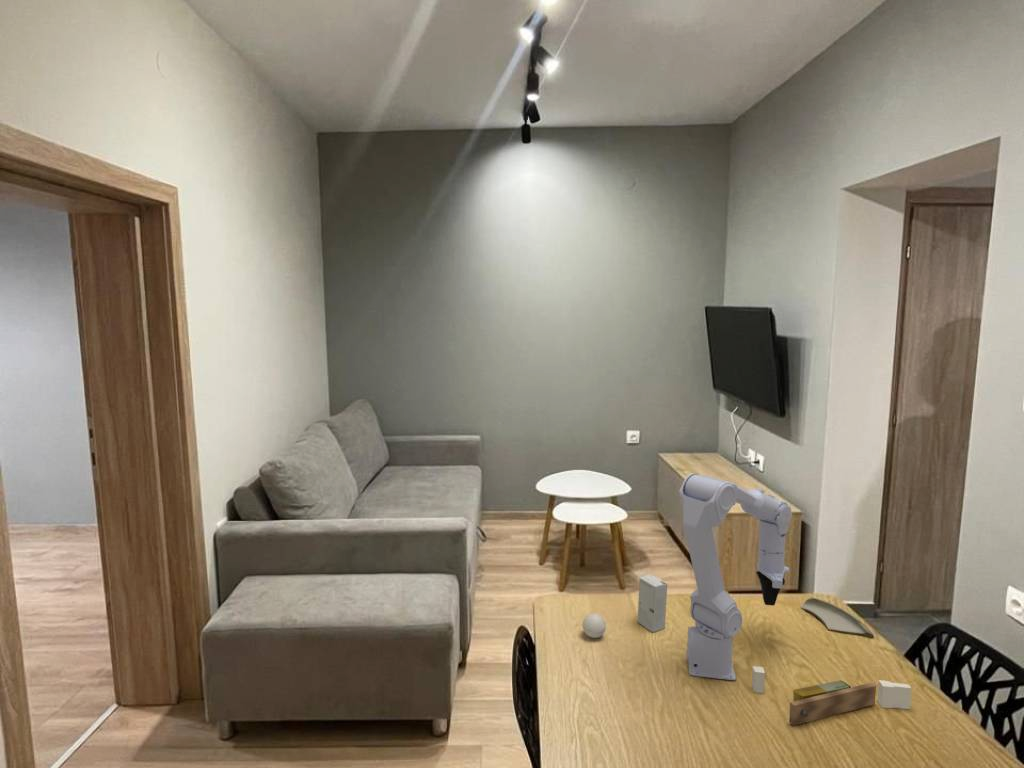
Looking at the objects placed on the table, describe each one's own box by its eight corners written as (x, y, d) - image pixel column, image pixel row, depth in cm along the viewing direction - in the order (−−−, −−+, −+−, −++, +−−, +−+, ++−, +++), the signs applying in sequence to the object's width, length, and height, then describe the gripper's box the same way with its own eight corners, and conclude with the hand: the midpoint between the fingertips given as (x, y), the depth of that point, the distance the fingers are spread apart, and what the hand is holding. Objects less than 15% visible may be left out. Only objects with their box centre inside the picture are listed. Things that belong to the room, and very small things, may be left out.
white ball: (604, 630, 144) (605, 609, 143) (606, 643, 138) (606, 621, 138) (574, 629, 145) (574, 607, 144) (574, 641, 139) (574, 619, 139)
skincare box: (636, 622, 148) (637, 576, 147) (650, 617, 150) (651, 573, 149) (653, 633, 142) (654, 586, 141) (666, 628, 145) (668, 582, 143)
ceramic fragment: (874, 639, 140) (875, 619, 139) (857, 646, 137) (858, 626, 136) (806, 608, 156) (807, 590, 155) (789, 614, 153) (790, 595, 152)
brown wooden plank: (796, 728, 109) (797, 708, 108) (789, 721, 110) (790, 702, 110) (878, 706, 114) (879, 688, 114) (870, 701, 116) (871, 682, 116)
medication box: (841, 699, 118) (841, 679, 118) (852, 706, 115) (852, 686, 115) (792, 708, 114) (792, 688, 114) (802, 716, 112) (802, 695, 112)
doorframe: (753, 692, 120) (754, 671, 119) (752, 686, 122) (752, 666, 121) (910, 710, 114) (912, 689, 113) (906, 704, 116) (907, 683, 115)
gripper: (798, 562, 128) (795, 620, 130) (782, 538, 142) (779, 591, 144) (764, 560, 130) (761, 617, 131) (751, 536, 144) (749, 588, 145)
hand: (769, 603), depth 138 cm, fingers closed
